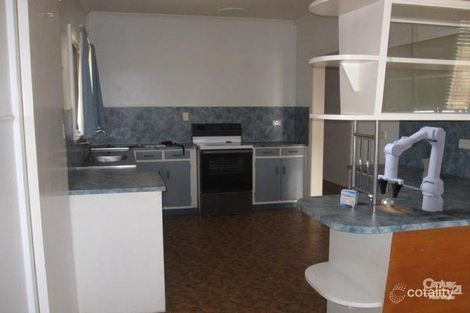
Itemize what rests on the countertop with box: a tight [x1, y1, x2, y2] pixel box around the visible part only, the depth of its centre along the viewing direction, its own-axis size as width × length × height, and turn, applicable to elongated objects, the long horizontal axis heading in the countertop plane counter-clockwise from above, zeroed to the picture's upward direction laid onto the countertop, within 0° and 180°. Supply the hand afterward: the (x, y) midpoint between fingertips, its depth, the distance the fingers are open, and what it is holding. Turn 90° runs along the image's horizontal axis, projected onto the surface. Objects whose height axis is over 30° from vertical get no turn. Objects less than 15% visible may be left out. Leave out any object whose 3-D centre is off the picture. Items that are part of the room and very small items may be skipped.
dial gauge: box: [367, 193, 374, 207], centre depth 212 cm, size 4×4×7 cm
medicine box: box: [339, 188, 359, 209], centre depth 214 cm, size 8×4×9 cm, turn 56°
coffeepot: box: [420, 155, 444, 180], centre depth 302 cm, size 15×9×18 cm, turn 70°
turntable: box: [375, 203, 414, 214], centre depth 207 cm, size 18×18×2 cm
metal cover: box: [380, 197, 395, 208], centre depth 211 cm, size 6×6×4 cm
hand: (388, 196), depth 197 cm, fingers open, 7 cm apart
